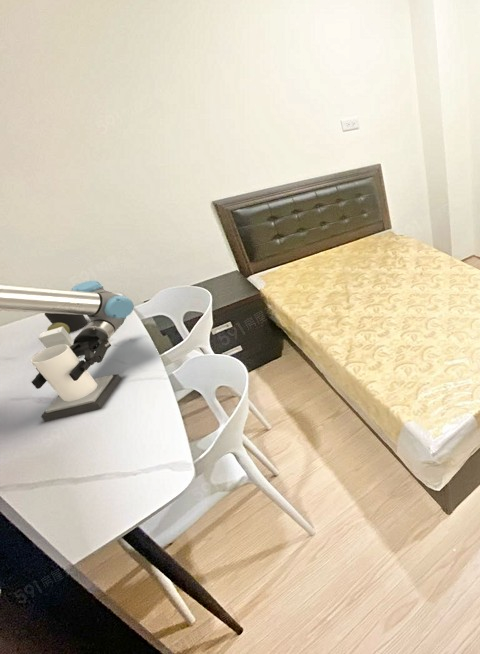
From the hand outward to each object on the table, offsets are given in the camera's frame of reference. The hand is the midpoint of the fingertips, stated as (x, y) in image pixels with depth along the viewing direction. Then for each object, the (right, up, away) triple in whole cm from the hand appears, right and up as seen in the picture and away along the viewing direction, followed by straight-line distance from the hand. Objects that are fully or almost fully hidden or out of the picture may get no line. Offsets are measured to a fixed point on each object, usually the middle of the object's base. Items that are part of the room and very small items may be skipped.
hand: (54, 381), depth 117 cm
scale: (-1, -8, +10) cm, 13 cm away
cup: (-1, -6, +8) cm, 10 cm away
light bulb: (-34, +5, +36) cm, 50 cm away
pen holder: (-44, +10, +46) cm, 64 cm away
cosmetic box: (-26, +1, +29) cm, 39 cm away
